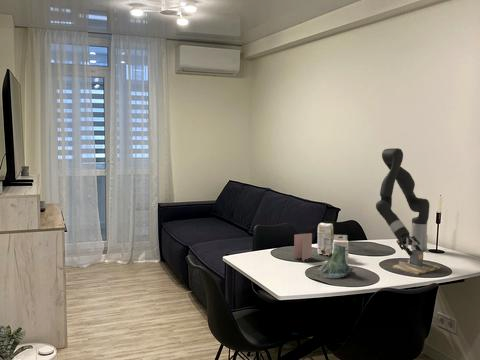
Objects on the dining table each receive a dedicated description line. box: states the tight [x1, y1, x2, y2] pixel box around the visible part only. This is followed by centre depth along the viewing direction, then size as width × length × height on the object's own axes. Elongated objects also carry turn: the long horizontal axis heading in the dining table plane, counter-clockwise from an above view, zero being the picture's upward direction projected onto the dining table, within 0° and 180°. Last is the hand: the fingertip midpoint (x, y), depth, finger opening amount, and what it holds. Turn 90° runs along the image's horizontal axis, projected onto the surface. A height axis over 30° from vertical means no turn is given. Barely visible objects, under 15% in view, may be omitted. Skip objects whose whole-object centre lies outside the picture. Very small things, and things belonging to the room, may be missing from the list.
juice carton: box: [316, 222, 334, 257], centre depth 285 cm, size 8×9×19 cm
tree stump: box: [317, 244, 354, 278], centre depth 247 cm, size 18×20×18 cm
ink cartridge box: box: [333, 234, 350, 262], centre depth 272 cm, size 9×5×15 cm, turn 84°
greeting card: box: [293, 232, 313, 262], centre depth 272 cm, size 11×7×15 cm, turn 108°
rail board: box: [392, 258, 441, 276], centre depth 256 cm, size 20×16×2 cm
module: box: [409, 249, 424, 267], centre depth 255 cm, size 5×5×8 cm
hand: (416, 253), depth 256 cm, fingers open, 8 cm apart
